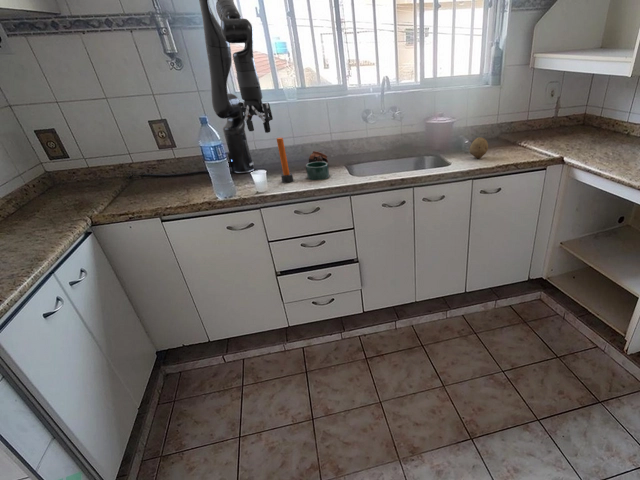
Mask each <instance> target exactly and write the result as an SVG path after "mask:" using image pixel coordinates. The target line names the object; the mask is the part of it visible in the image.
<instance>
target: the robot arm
mask: <svg viewBox="0 0 640 480" xmlns="http://www.w3.org/2000/svg"><path fill="white" fill-rule="evenodd" d="M198 2H199V7H200V12H201V19H202V25H203V26H202V27H203V33H204V34H203V35H204V42H205V49H206V50H205V51H206V56H207V61H208V66H209V67H208V69H209V76H210V90H211V105H212V108H213V109H212V110H213V111H214V113H215V115H216V116H217V117H218V118H220V119H222V120H223V119H225V120H226V123H225V125H224V126H223V128H222V132H223V134H224V138H225V143H226V147H227V150H228V151H227V156H228V160H227V161H228V163H229V167H228V168H230V169H231V172H232V174H233V173H234V174H238V175H239V174H249V173H252V172H254V171H255V166H254V161H253V159H252V154H251V151H250V145H249V142H248V138H247V133H246V130H245V129H246V127H247V130H248V131H249V132H254V131H255V127H254V123H253V120H252V119H253V116H257V117H258V118H260V119H261V121H262V125H263V129H264V133H265V134H269V133H271V126H270V121H273V120H274V118H273V113H272V109H271V105H270V103H269V102H264V103H263V101H262V100H263V93H262V88H261V83H260V79H259V75H258V72H257V68H256V63H255V57H254V28H253V27H254V26H253V25H252V23H251V21H249V20H248V19H247V18H242V15H241V14H240V12H239V10H238V8H237V6H236V3H235V1H234V0H216V3H215V9H216V13H217V16H218V17H219V20H220V23H219V22H218V20H217V19H216V17H215V14H214V12H213V11H212V7H211V4H210V1H209V0H199V1H198ZM231 44H244V47H243V48H242V49H241V50H238V51H235V52H233V54H232V48H231ZM232 60H233V64H234V69H235V74H236V80H237V85H238V88H239V92H240V97H241V100H243V101H240V99H239V98H238V96H237V95H236V94H234V93H230V92H229V93H228V78H229V74H230V71H231V68H232ZM208 171H209V170H199V171H193V172H192V171H191V172H183V173H168V174H165V173H164V174H163V173H162V174H161V173H160V174H159V173H158V174H157V173H143V174H144V175H134V176H138V177H140V176H141V177H180V176H191V175H196V174H209V173H208ZM251 171H252V172H251ZM134 176H130V175H128V177H127V179H131V178H133V177H134Z"/></svg>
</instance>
